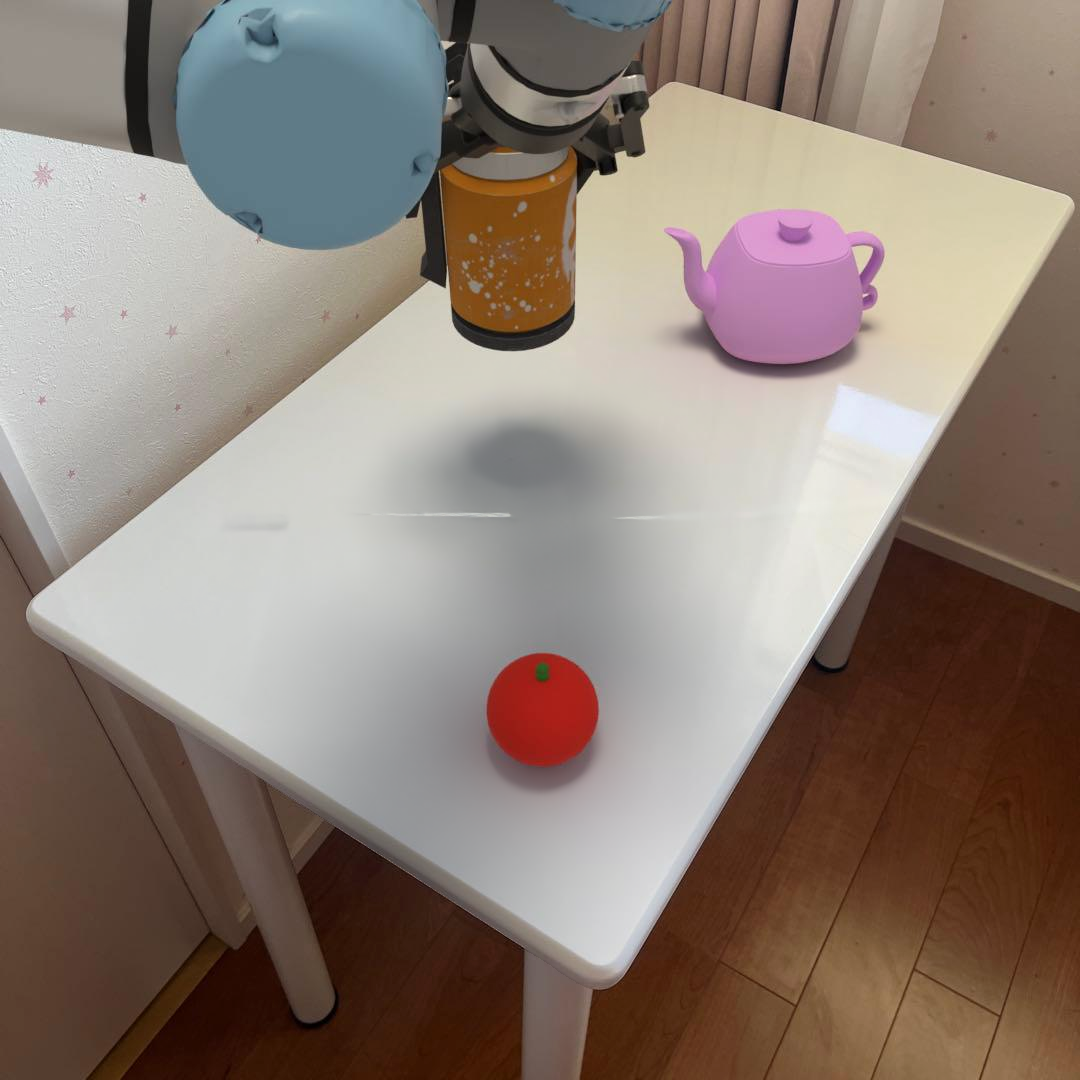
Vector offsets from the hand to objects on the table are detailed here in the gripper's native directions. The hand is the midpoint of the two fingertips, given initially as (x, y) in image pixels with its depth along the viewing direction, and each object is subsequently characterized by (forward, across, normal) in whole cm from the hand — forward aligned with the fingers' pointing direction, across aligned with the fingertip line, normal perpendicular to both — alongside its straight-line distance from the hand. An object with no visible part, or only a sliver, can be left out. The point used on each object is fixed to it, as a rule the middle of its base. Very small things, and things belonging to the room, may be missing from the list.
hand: (488, 188), depth 76 cm
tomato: (-6, -4, -37) cm, 38 cm away
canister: (+5, 0, -9) cm, 10 cm away
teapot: (+20, +26, -11) cm, 35 cm away
